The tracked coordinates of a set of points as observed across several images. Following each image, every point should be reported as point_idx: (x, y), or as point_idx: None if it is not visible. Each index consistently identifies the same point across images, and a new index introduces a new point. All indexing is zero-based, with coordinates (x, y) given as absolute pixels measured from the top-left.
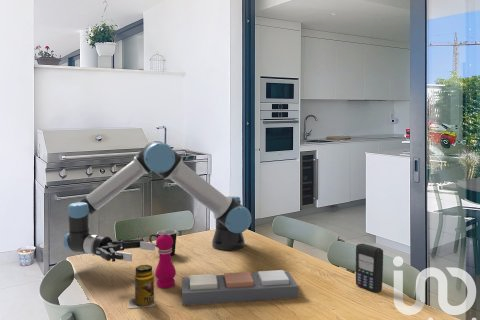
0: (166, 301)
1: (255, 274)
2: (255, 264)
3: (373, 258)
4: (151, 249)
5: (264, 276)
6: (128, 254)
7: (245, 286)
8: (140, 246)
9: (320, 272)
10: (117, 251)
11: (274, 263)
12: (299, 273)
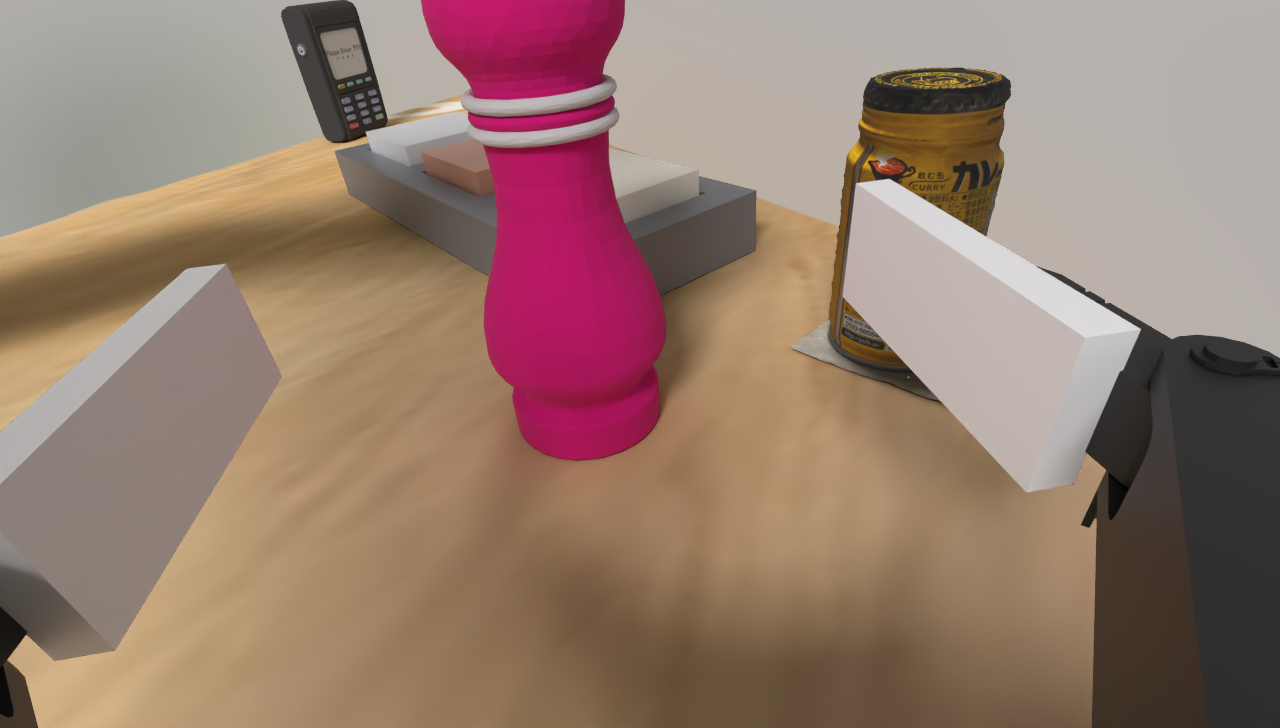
0: (780, 296)
1: (400, 170)
2: (96, 299)
3: (356, 28)
4: (258, 394)
5: (455, 130)
6: (910, 201)
7: None
8: (88, 594)
9: (231, 186)
10: (1084, 331)
11: (90, 267)
12: (246, 203)
